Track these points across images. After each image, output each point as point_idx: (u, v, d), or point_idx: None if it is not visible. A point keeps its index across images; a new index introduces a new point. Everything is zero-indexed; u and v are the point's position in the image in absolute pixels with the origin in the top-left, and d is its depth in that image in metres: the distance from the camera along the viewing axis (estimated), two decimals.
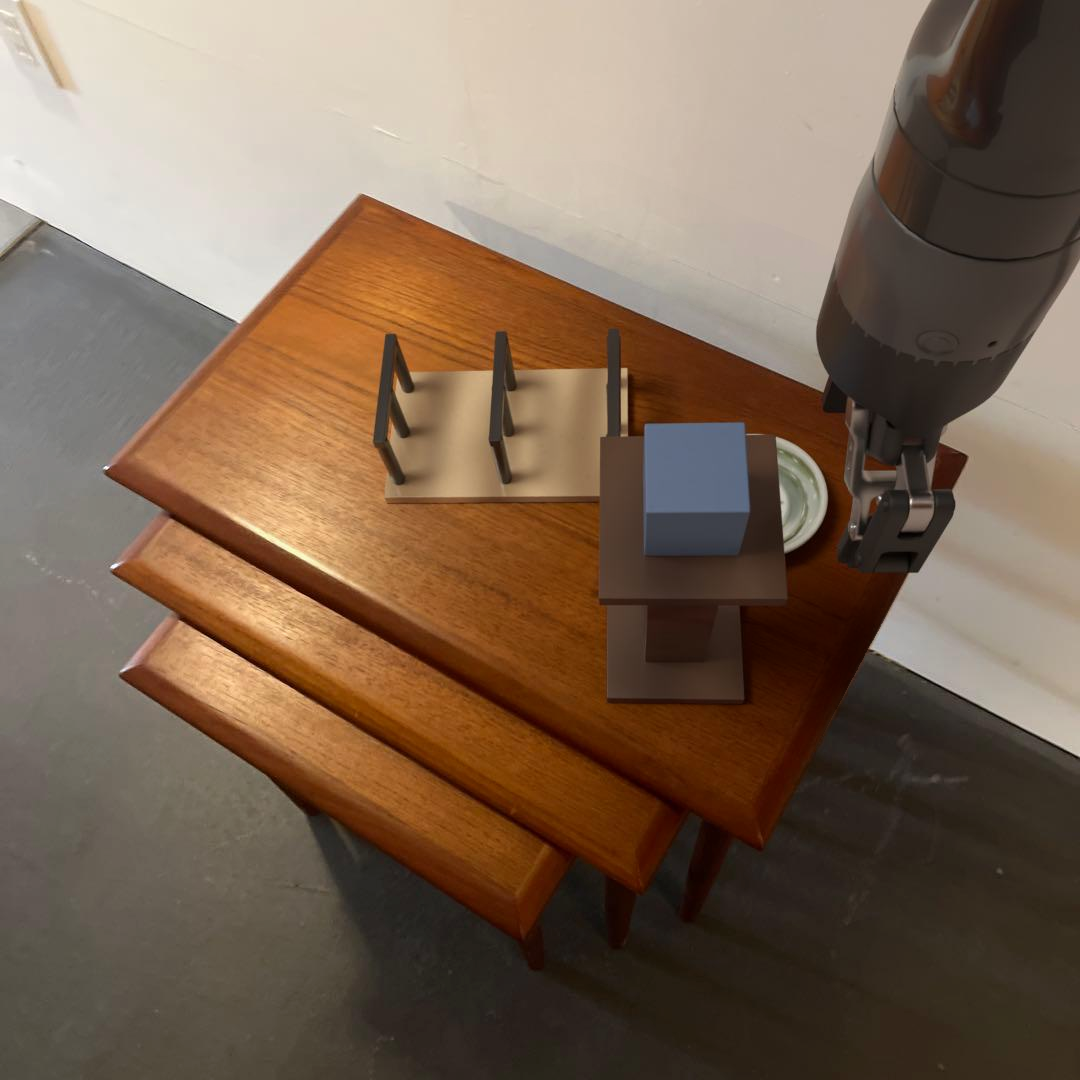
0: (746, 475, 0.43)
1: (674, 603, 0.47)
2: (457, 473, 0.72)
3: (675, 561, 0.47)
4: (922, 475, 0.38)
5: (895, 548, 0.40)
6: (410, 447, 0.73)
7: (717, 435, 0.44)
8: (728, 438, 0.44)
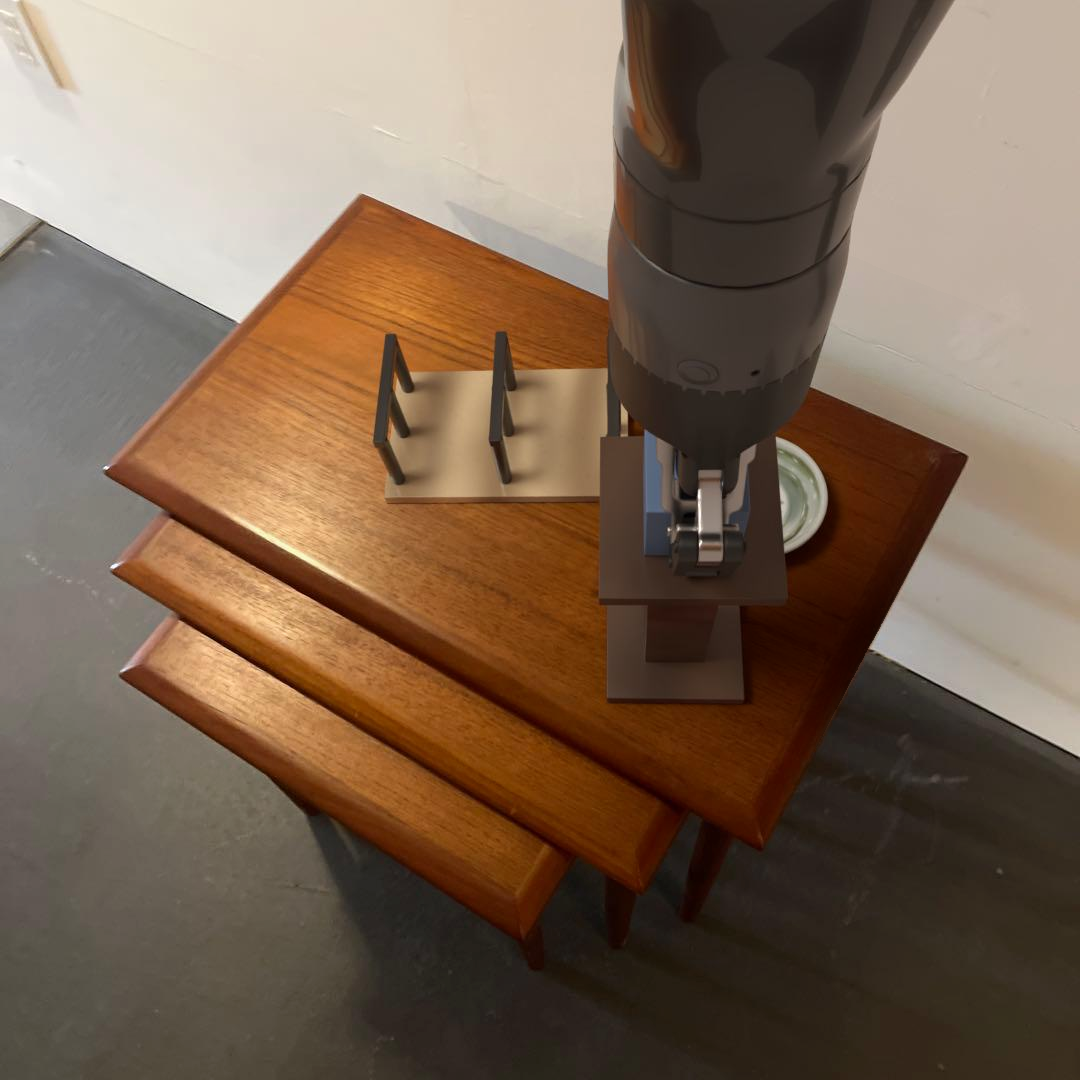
0: (746, 475, 0.44)
1: (674, 603, 0.47)
2: (457, 473, 0.72)
3: None
4: (716, 516, 0.37)
5: (696, 570, 0.39)
6: (410, 447, 0.73)
7: None
8: None
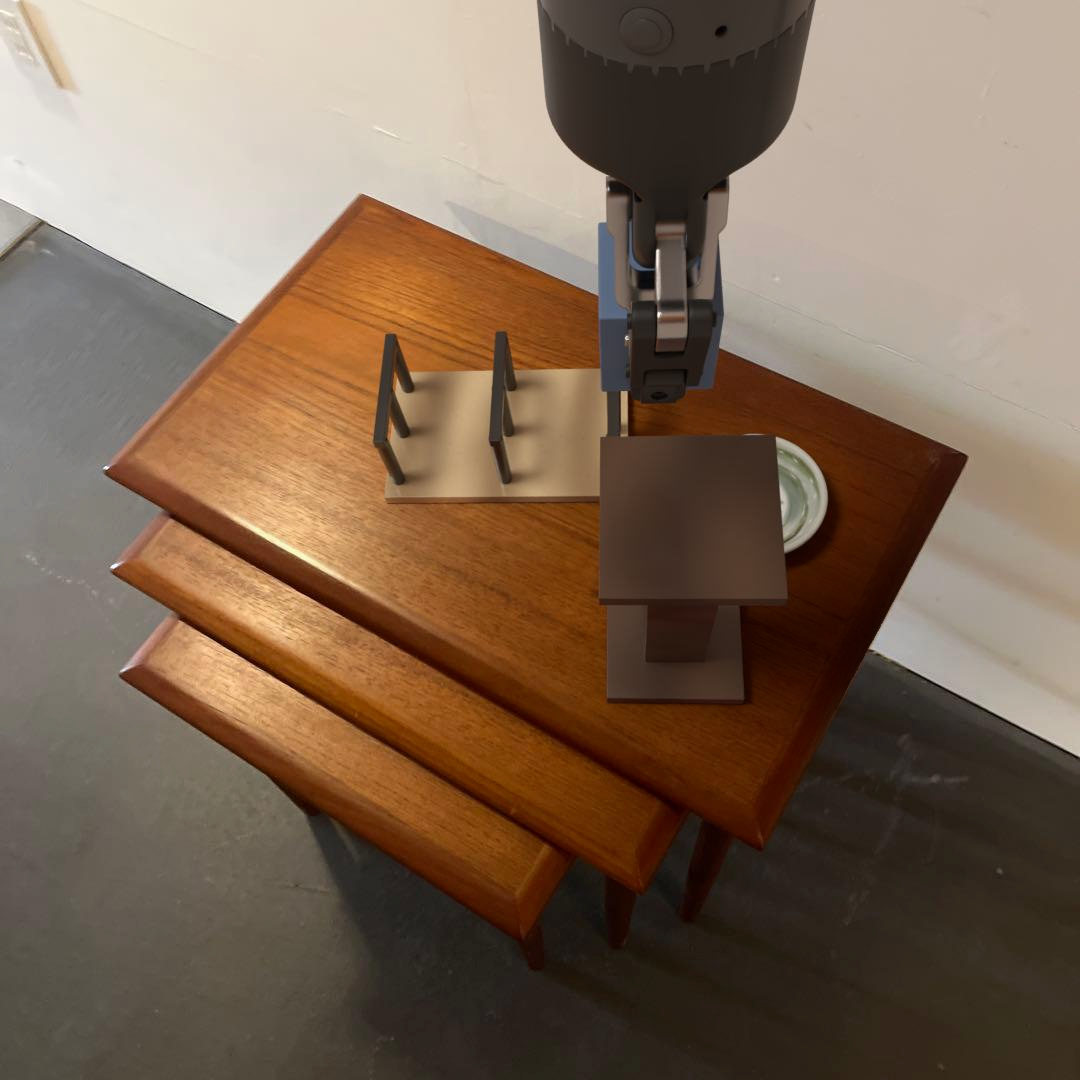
0: (719, 275, 0.36)
1: (674, 603, 0.47)
2: (457, 473, 0.72)
3: (675, 561, 0.47)
4: (678, 280, 0.29)
5: (657, 366, 0.32)
6: (410, 447, 0.73)
7: None
8: None
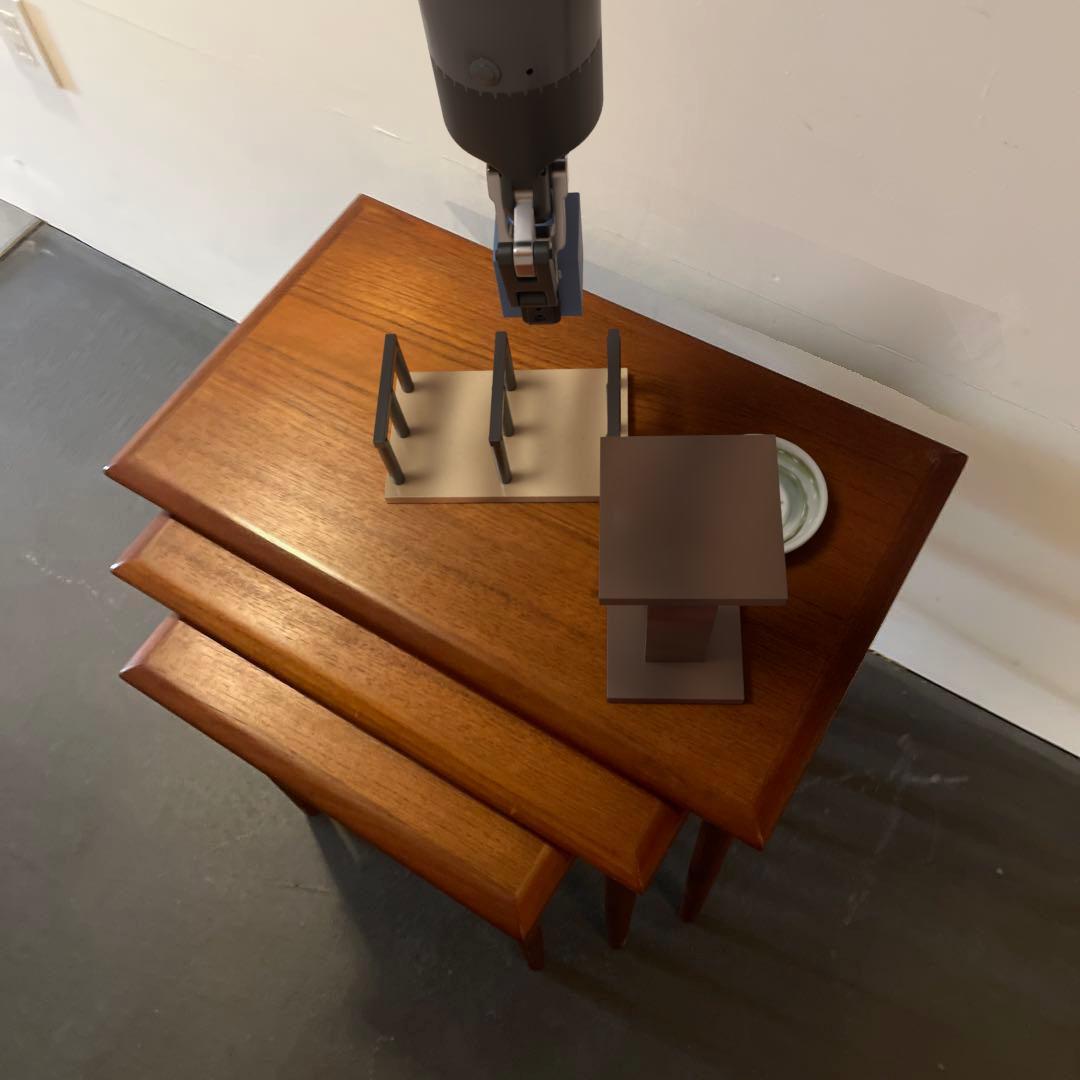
0: (577, 231, 0.52)
1: (674, 603, 0.47)
2: (457, 473, 0.72)
3: (675, 561, 0.47)
4: (528, 228, 0.45)
5: (523, 288, 0.48)
6: (410, 447, 0.73)
7: None
8: None
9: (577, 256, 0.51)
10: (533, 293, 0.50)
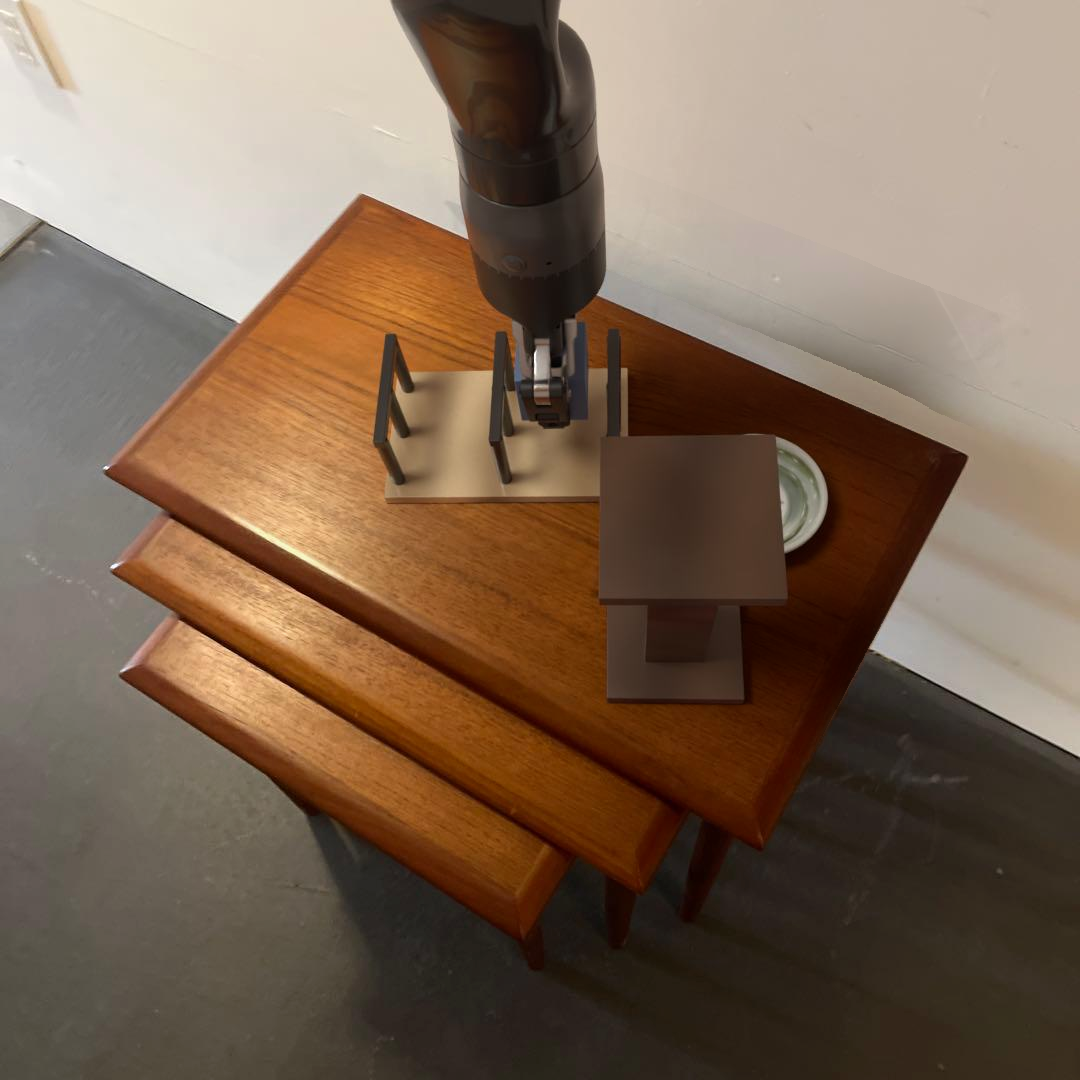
0: (584, 356, 0.63)
1: (674, 603, 0.47)
2: (457, 473, 0.72)
3: (675, 561, 0.47)
4: (545, 369, 0.56)
5: (540, 411, 0.59)
6: (410, 447, 0.73)
7: None
8: None
9: (584, 378, 0.62)
10: None
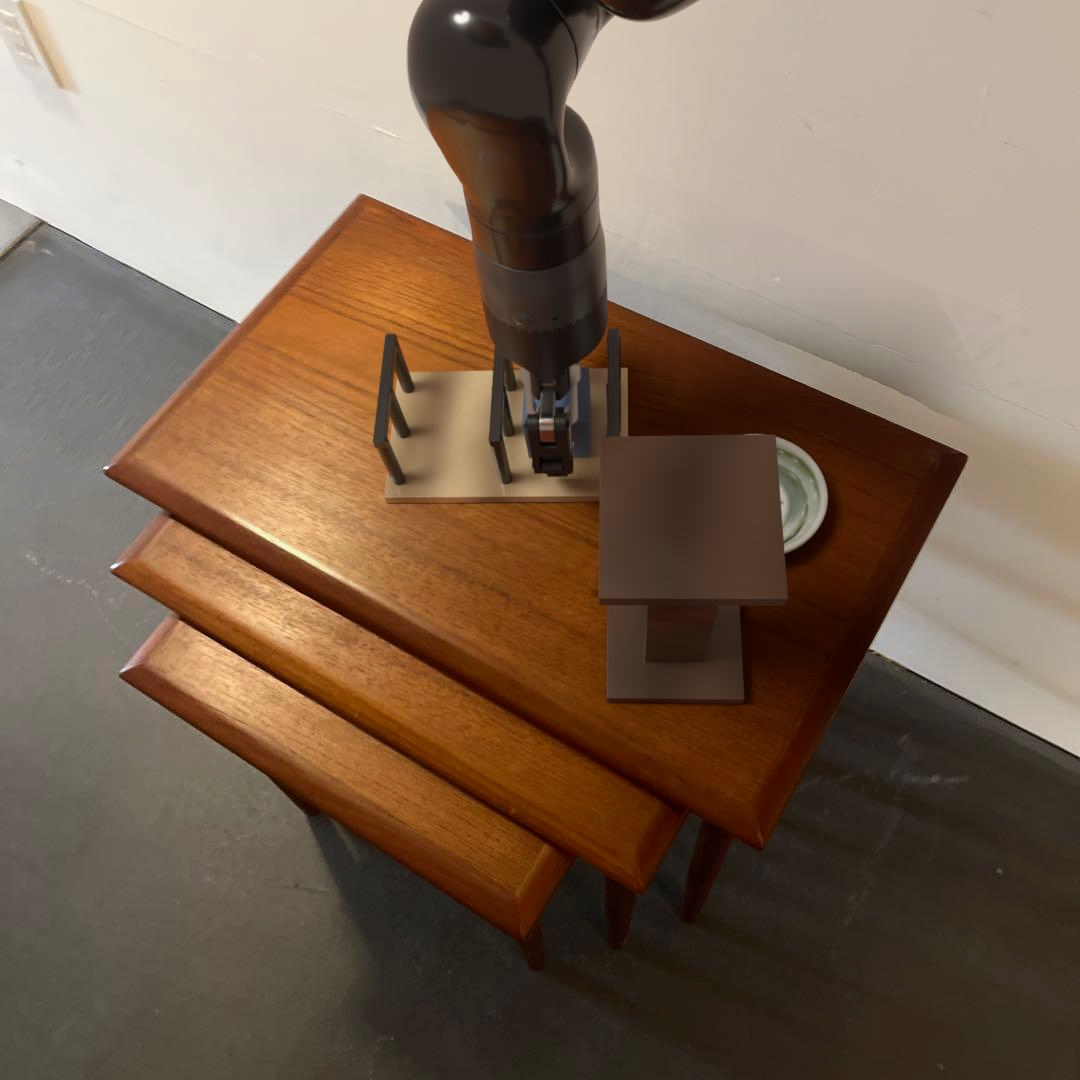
0: (587, 400, 0.68)
1: (674, 603, 0.47)
2: (457, 473, 0.72)
3: (675, 561, 0.47)
4: (550, 405, 0.60)
5: (544, 453, 0.62)
6: (410, 447, 0.73)
7: None
8: None
9: (587, 421, 0.67)
10: (552, 464, 0.64)
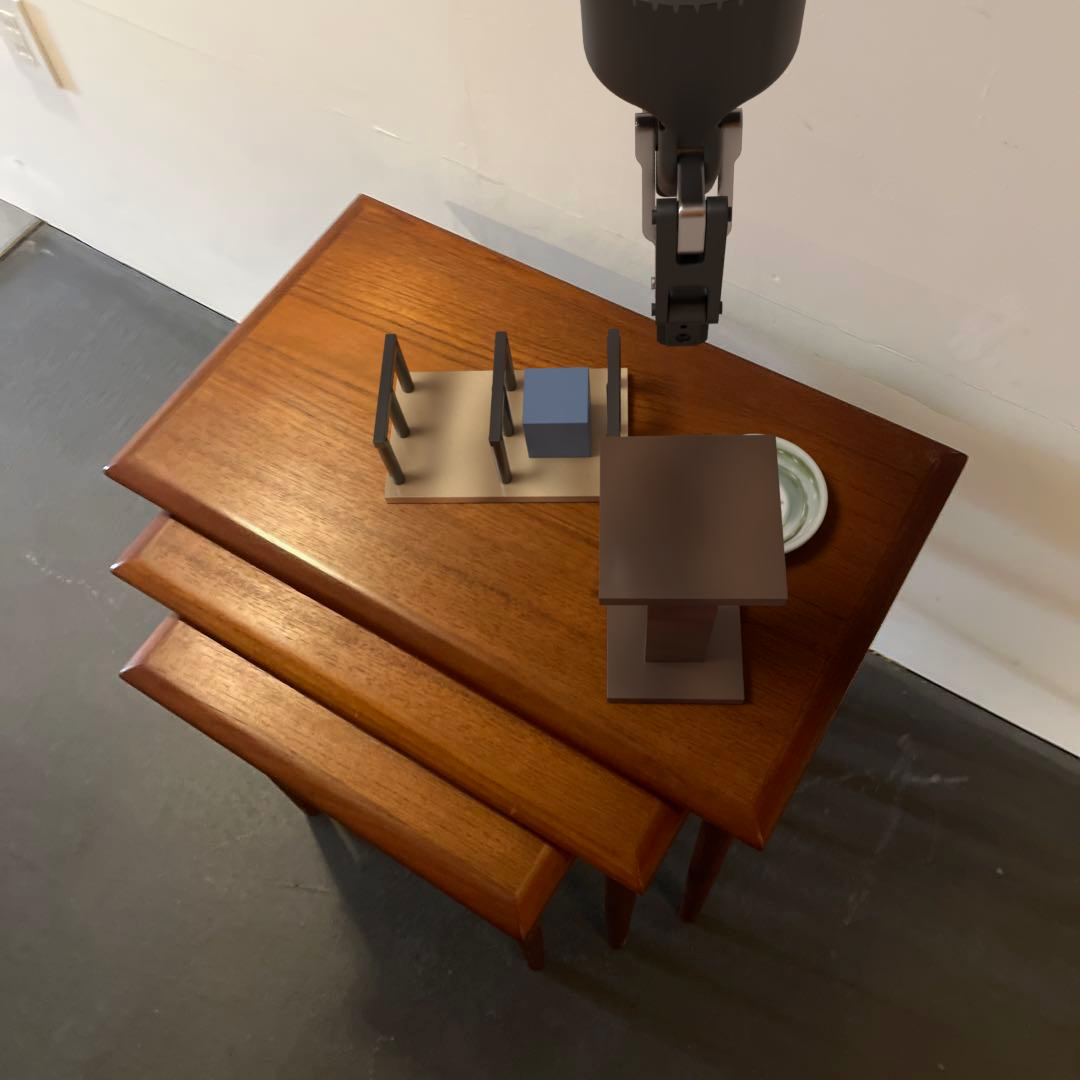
0: (587, 400, 0.68)
1: (674, 603, 0.47)
2: (457, 473, 0.72)
3: (675, 561, 0.47)
4: (697, 183, 0.33)
5: (680, 280, 0.35)
6: (410, 447, 0.73)
7: (570, 375, 0.69)
8: (577, 377, 0.69)
9: (587, 421, 0.67)
10: (688, 306, 0.37)
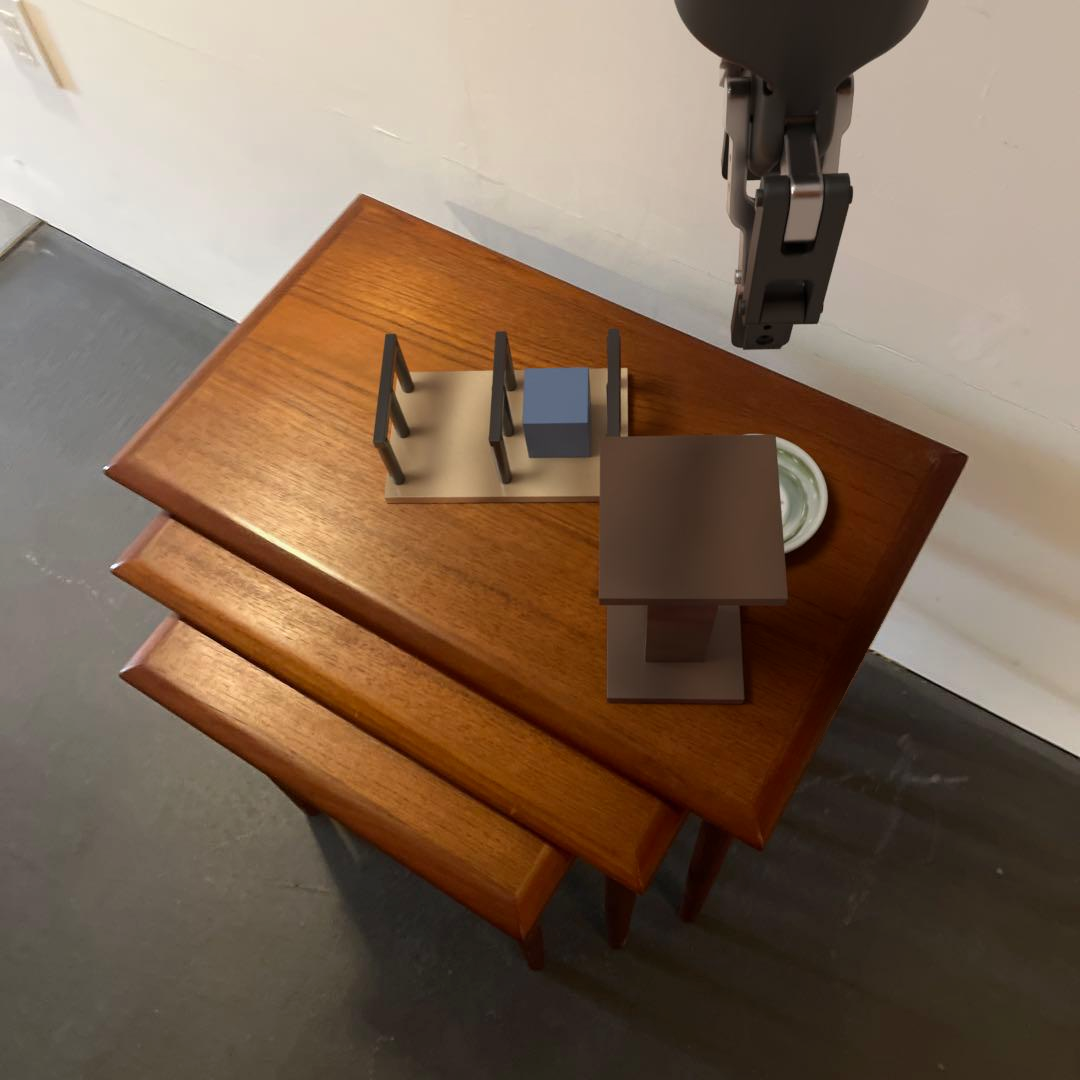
0: (587, 400, 0.68)
1: (674, 603, 0.47)
2: (457, 473, 0.72)
3: (675, 561, 0.47)
4: (810, 157, 0.28)
5: (781, 273, 0.30)
6: (410, 447, 0.73)
7: (570, 375, 0.69)
8: (577, 377, 0.69)
9: (587, 421, 0.67)
10: (784, 304, 0.32)
